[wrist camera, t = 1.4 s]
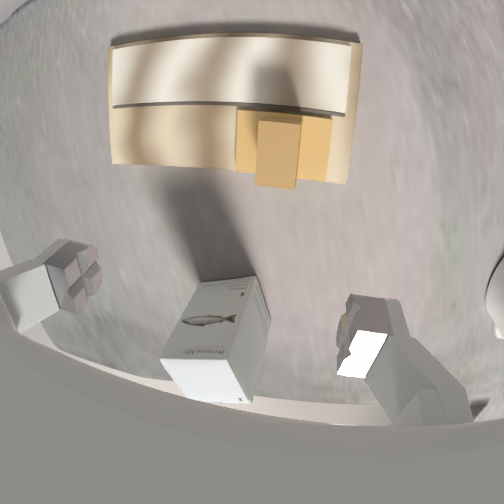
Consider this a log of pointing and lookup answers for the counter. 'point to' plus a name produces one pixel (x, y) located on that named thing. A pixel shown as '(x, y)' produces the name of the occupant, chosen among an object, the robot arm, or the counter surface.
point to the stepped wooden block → (282, 147)
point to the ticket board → (226, 94)
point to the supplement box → (219, 342)
